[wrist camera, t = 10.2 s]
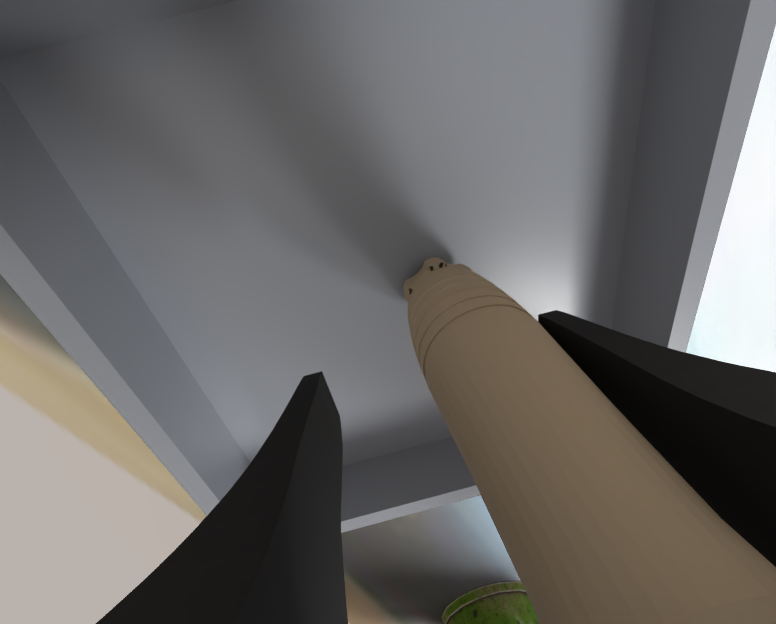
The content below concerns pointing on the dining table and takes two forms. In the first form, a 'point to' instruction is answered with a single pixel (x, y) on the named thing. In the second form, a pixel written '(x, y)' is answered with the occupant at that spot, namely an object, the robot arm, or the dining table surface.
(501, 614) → the lantern
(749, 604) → the handle
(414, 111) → the bin
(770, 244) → the dining table surface
